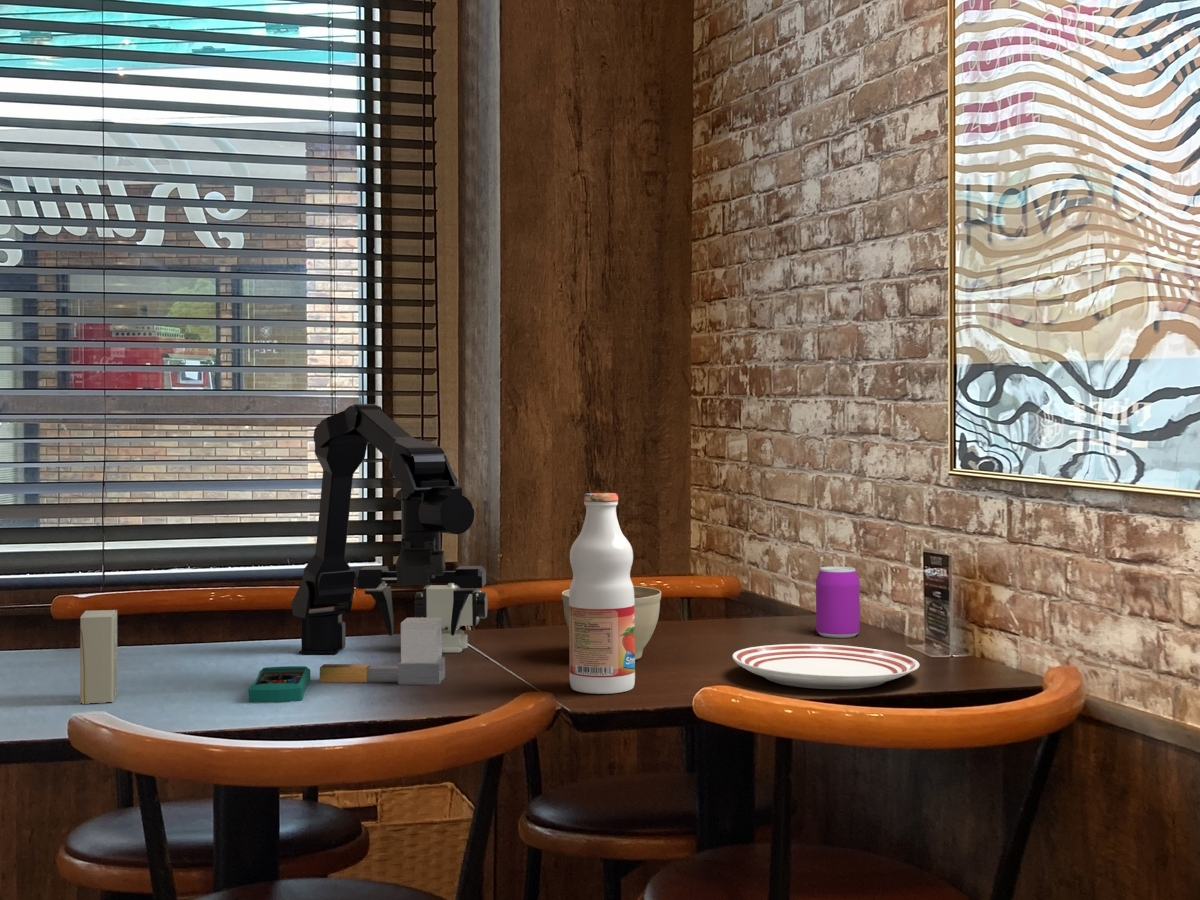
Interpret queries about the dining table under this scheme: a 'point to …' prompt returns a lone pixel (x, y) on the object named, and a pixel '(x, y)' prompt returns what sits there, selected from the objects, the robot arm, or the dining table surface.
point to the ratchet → (385, 673)
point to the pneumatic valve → (450, 612)
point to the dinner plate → (824, 665)
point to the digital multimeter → (280, 684)
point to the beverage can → (837, 602)
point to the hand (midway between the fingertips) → (422, 635)
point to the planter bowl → (636, 614)
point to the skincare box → (98, 656)
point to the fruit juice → (601, 602)
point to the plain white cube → (421, 640)
